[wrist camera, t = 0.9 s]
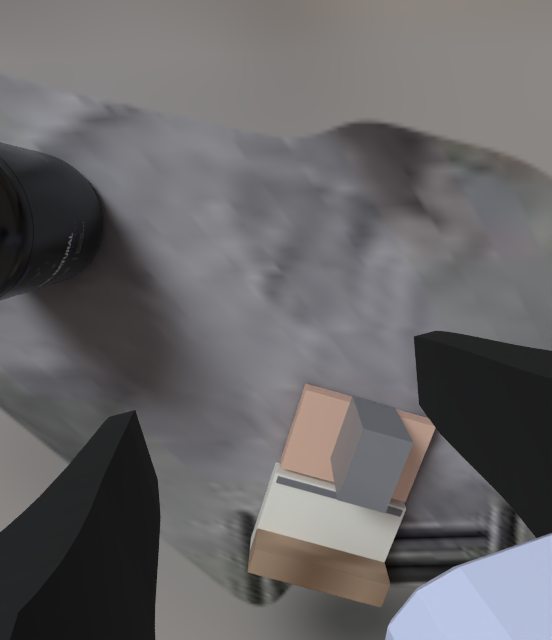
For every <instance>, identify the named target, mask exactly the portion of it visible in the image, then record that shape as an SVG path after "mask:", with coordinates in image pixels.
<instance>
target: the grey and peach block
mask: <svg viewBox="0 0 552 640" xmlns="http://www.w3.org/2000/svg"><path fill="white" fill-rule="evenodd" d="M435 428H436V427H435V426H434V425H433V423H432V422H431V421H430V419H429V418H426V417H422V416H419V415H415V414H411V413H408V412H404V411H401V410H397V409H395V408H393V407H390V406H386V405H383V404H379V403H376V402H372V401H369V400H365V399H362V398H358V397H355V396H348V395H345V394H341V393H338V392H334V391H331V390H327V389H324V388H320V387H317V386H313V385H310V384H306V383H305V386H304V390H303V393H302V396H301V399H300V402H299V405H298V408H297V411H296V414H295V417H294V420H293V423H292V426H291V429H290V432H289V435H288V438H287V442H286V445H285V448H284V451H283V454H282V457H281V468H284V469H287V470H291V471H294V472H298V473H302V474H305V475H309V476H312V477H316V478H320V479H323V480H327V481H331V482H334V484H335V490H336V496H337V500H339V501H342V502H346V503H350V504H353V505H357V506H361V507H364V508H368V509H371V510H375V511H379V512H382V513H386V511H387V508H388V506H389V503H390V501H391V498H392V499H396V500H399V501H403V502H406V500H407V497H408V495H409V492H410V490H411V487H412V485H413V482H414V480H415V477H416V475H417V472H418V470H419V468H420V465H421V463H422V460H423V458H424V455H425V453H426V450H427V448H428V445H429V443H430V440H431V438H432V435H433V433H434V431H435Z"/></svg>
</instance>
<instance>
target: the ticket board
mask: <svg viewBox="0 0 552 640" xmlns="http://www.w3.org/2000/svg"><path fill="white" fill-rule="evenodd" d="M405 511H406V507H405V504H404V502H403V501H399V500H396V499H392V498H391V501H390V503H389V506H388V508H387V511H386V513H382V512H379V511H375V510H371V509H368V508H364V507H361V506H357V505H353V504H350V503H346V502H342V501H339V500H337V496H336V490H335V484H334V482H331V481H327V480H323V479H320V478H316V477H312V476H309V475H305V474H302V473H298V472H294V471H291V470H287V469H284V468H281V463H278V462H276V463H275V466H274V469H273V472H272V475H271V478H270V481H269V485H268V488H267V491H266V494H265V497H264V500H263V503H262V506H261V509H260V512H259V515H258V518H257V522H256V525H255V528H254V531H253V534H252V537H251V545H250V555H249V565H248V572H249V573H252V574H256V575H260V576H264V577H268V578H271V579H275V580H279V581H283V582H286V583H290V584H294V585H298V586H302V587H305V588H309V589H313V590H317V591H320V592H324V593H328V594H332V595H336V596H339V597H343V598H347V599H350V600H354V601H358V602H362V603H365V604H370V605H373V606H377V607H382V605H383V602H384V600H385V598H386V595H387V593H388V591H389V588H390V586H391V585H390V581H389V577H388V574H387V570H386V566H385V560H386V558H387V555H388V553H389V550H390V548H391V545H392V543H393V540H394V538H395V535H396V533H397V531H398V528H399V526H400V523H401V521H402V518H403V516H404V513H405Z"/></svg>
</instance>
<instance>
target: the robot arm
mask: <svg viewBox="0 0 552 640" xmlns="http://www.w3.org/2000/svg"><path fill="white" fill-rule="evenodd" d="M414 344H415V357H416V370H417V382H418V395H419V405H420V406H421V408H422V409H423V411H424V412H425V414H426V415H427V417H428V418H429V419H430V421H431V422H432V423H433V425H434V426H435V427H436V429H437V430H438V431H439V433H440V434H441V435H442V436H443V437H444V438H445V439H446V440H447V441H448V442H449V443H450V444H451V445H452V446H453V447H454V448H455V449H456V450H457V451H458V452H459V454H460V455H461V456H462V457H463V458H464V459H465V460H466V461H467V462H468V463H469V464H470V465H471V466H472V467H473V468H474V469H475V470H476V471H477V472H478V473H479V474H480V475H481V476H482V477H483V478H484V479H485V480H486V481H487V482H488V483H489V484H490V485H491V486H492V487H493V488H494V489H495V490H496V491H497V492H498V493H499V494H500V495H501V496H502V497H503V498H504V499H505V500H506V501H507V503H508V504H509V505H510V506H511V507H512V508H513V509H514V510H515V512H516V513H517V514H518V515H519V517H520V518H521V519H522V520H523V522H524V523H525V524H526V525H527V527H528V528H529V529H530V530H531V532H532V533H533V534H534V535H535V537H536V539H533V540H530V541H527V542H524V543H521V544H518V545H515V546H513V547H510V548H507V549H504V550H501V551H498V552H495V553H492V554H489V555H487V556H484V557H481V558H478V559H475V560H472V561H469V562H466V563H463V564H461V565H458V566H455V567H453V568H451V569H449V570H448V571H446V572H444V573H442V574H441V575H439V576H437V577H435V578H434V579H432V580H430V581H428V582H427V583H425V584H423V585H421V586H420V587H418V588H417V589H416V590H415V591H414V593H413V594H412V595H411V596H410V597H409V599H408V600H407V601H406V602H405V604H404V605H403V606H402V607H401V608H400V610H399V611H398V612H397V613H396V615H395V616H394V617H393V618H392V620H391V622H390V624H389V626H388V629H387V634H386V639H385V640H552V351H549V350H542V349H536V348H530V347H524V346H519V345H513V344H508V343H503V342H498V341H493V340H488V339H483V338H479V337H474V336H469V335H463V334H458V333H452V332H444V331H433V332H430V333H426V334H422V335H418V336H414ZM159 534H160V503H159V491H158V479H157V476H156V473H155V470H154V467H153V464H152V461H151V458H150V455H149V452H148V448H147V445H146V442H145V439H144V436H143V433H142V430H141V427H140V424H139V421H138V417H137V414H136V411H135V410H134V411H130V412H126V413H122V414H118V415H115V416H111V417H109V418H108V419H107V420H106V421H105V422H104V423H103V424H102V425H101V427H100V428H99V429H98V430H97V432H96V433H95V434H94V435H93V436H92V438H91V439H90V440H89V441H88V443H87V444H86V445H85V446H84V447H83V449H82V450H81V451H80V452H79V453H78V455H77V456H76V457H75V458H74V459H73V461H72V462H71V463H70V464H69V465H68V466H67V468H66V469H65V470H64V471H63V472H62V473H61V474H60V475H59V476H58V477H57V478H56V479H55V481H54V482H53V483H52V484H51V485H50V486H49V487H48V488H47V489H46V490H45V491H44V492H43V494H42V495H41V496H40V497H39V498H37V499H36V501H34V503H32V504H31V505H30V506H29V507H28V508H27V509H26V510H25V511H24V512H23V513H22V514H21V515H19V516H18V517H17V518H16V519H15V520H14V521H13V522H12V523H11V524H9V525H8V526H7V527H6V528H5V529H4V530H3V531H1V532H0V640H155V599H156V583H157V567H158V552H159Z"/></svg>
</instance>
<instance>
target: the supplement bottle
mask: <svg viewBox="0 0 552 640" xmlns="http://www.w3.org/2000/svg"><path fill="white" fill-rule="evenodd" d="M102 232H103V217H102V211H101V207H100V204H99V201H98V198H97V196H96V194H95V192H94V190H93V188H92V187H91V185H90V184H89V183H88V181H87V180H86V179H85V178H84V176H83V175H82V174H81V173H80V172H79V171H77V170H76V169H75V168H74V167H72V166H71V165H69V164H68V163H66V162H64V161H63V160H61V159H58V158H56V157H54V156H51V155H48V154H44V153H41V152H37V151H33V150H29V149H25V148H21V147H17V146H13V145H9V144H5V143H1V142H0V300H3V299H7V298H10V297H13V296H16V295H19V294H23V293H26V292H29V291H32V290H35V289H39V288H42V287H45V286H48V285H51V284H55V283H58V282H60V281H63V280H66V279H68V278H70V277H72V276H74V275H76V274H77V273H79V272H80V271H82V270H83V269H84V268H85V267H86V266H87V265H88V264H89V263H90V261H91V260H92V259H93V257H94V256H95V254H96V252H97V250H98V248H99V245H100V242H101V238H102Z"/></svg>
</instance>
